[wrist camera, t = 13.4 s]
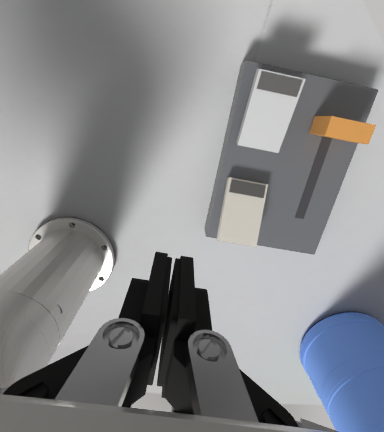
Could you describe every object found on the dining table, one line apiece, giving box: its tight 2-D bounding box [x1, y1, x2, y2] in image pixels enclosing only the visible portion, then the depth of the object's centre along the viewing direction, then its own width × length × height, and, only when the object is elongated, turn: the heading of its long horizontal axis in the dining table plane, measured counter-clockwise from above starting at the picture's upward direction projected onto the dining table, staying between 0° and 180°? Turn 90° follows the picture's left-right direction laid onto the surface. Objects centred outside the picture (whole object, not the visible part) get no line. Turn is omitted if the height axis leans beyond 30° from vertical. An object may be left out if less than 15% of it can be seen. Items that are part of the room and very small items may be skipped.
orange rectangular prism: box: [309, 116, 376, 144], centre depth 30 cm, size 2×5×4 cm, turn 79°
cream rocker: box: [216, 177, 268, 247], centre depth 34 cm, size 8×5×1 cm, turn 170°
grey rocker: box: [237, 68, 306, 153], centre depth 30 cm, size 8×5×1 cm, turn 169°
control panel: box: [205, 60, 378, 254], centre depth 35 cm, size 22×16×4 cm
